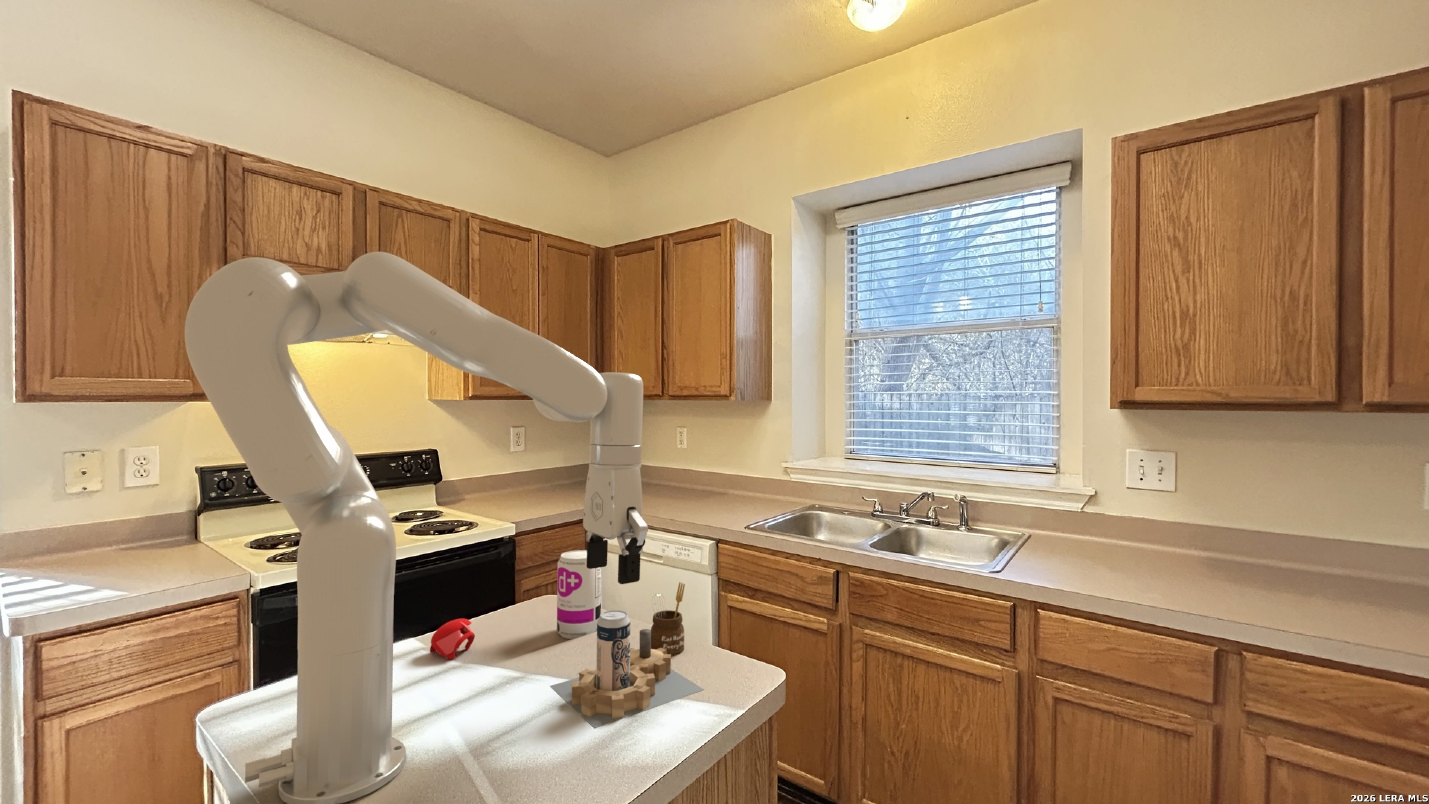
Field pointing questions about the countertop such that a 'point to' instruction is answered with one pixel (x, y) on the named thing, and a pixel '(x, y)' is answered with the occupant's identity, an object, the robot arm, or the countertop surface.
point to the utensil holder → (668, 628)
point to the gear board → (664, 693)
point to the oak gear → (613, 694)
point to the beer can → (613, 651)
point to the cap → (452, 638)
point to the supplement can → (577, 595)
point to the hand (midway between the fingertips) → (612, 574)
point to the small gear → (651, 657)
